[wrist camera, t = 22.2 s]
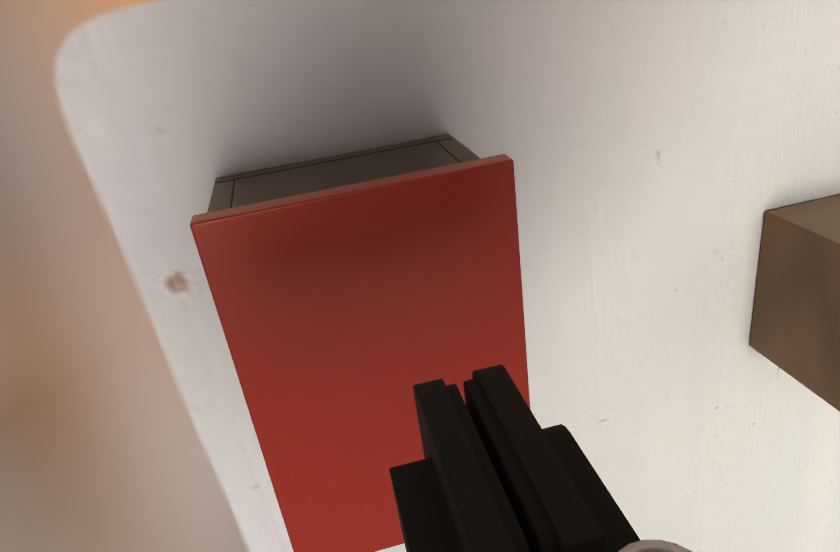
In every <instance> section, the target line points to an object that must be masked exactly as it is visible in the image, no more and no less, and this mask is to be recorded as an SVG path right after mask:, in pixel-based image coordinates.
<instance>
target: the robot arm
mask: <svg viewBox="0 0 840 552" xmlns="http://www.w3.org/2000/svg"><path fill="white" fill-rule="evenodd" d="M463 387H464V395H465V402H464V400H463V398H462V396H461V394H460V391H459V389H458V387H457V385H456V384H455V383H454V384H450V385H445V382H444V380H443V379H442V378H441V379H436V380H432V381H428V382H424V383H419V384H415V385H413V391H414V398H415V404H416V410H417V416H418V422H419V428H420V434H421V440H422V446H423V452H424V458H425V459H422V460H418V461H414V462H411V463H407V464H403V465H399V466H395V467H391V468H389V471H390V476H391V481H392V486H393V491H394V496H395V501H396V506H397V511H398V515H399V520H400V524H401V529H402V533H403V538H404V542H405V546H406V551H407V552H692V551H690V550H688V549H686V548H684V547H682V546H680V545H678V544H675V543H671V542H667V541H663V540H640V539H639V537H638V536H637V534H636V533H635V531H634V530H633V528H632V527H631V525H630V524H629V522H628V521H627V519H626V517H625V516H624V514H623V513H622V511H621V510H620V508H619V507H618V505H617V504H616V502H615V501H614V499H613V498H612V496H611V494H610V493H609V491H608V490H607V488H606V487H605V485H604V484H603V482H602V481H601V479H600V478H599V476H598V475H597V473H596V472H595V470H594V468H593V467H592V465H591V464H590V462H589V461H588V459H587V458H586V456H585V455H584V453H583V452H582V450H581V449H580V447H579V445H578V444H577V442H576V441H575V439H574V438H573V436H572V435H571V433H570V432H569V431H568V429H567V428H566V427H565V426H563V425H562V424H560V425H556V426H552V427H548V428H545V429H541V427H540V425H539V424H538V422H537V420H536V419H535V417H534V415H533V414H532V412H531V410H530V409H529V407H528V405H527V403H526V402H525V400H524V398H523V397H522V395H521V393H520V392H519V390H518V388H517V387H516V385H515V383H514V382H513V380H512V378H511V377H510V375H509V373H508V372H507V370H506V368H505V367H504V366H503V365H502V364H499V365H495V366H491V367H487V368H483V369H478V370H474V371H473V372H472V379H471V380H467V381H464V382H463ZM465 404H466V405H465Z"/></svg>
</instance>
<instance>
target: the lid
mask: <svg viewBox="0 0 840 552" xmlns="http://www.w3.org/2000/svg"><path fill="white" fill-rule="evenodd" d="M190 227H191V230H192V233H193V237H194V240H195V243H196V246H197V249H198V252H199V255H200V259H201V262H202V265H203V268H204V271H205V274H206V277H207V281H208V284H209V287H210V290H211V293H212V296H213V299H214V303H215V306H216V309H217V312H218V315H219V318H220V321H221V325H222V328H223V331H224V334H225V337H226V340H227V343H228V347H229V350H230V353H231V356H232V359H233V362H234V365H235V369H236V372H237V375H238V378H239V381H240V384H241V387H242V391H243V394H244V397H245V400H246V403H247V406H248V409H249V413H250V416H251V419H252V422H253V425H254V428H255V431H256V435H257V438H258V441H259V444H260V447H261V450H262V453H263V457H264V460H265V463H266V466H267V469H268V472H269V475H270V479H271V482H272V485H273V488H274V491H275V494H276V497H277V501H278V504H279V507H280V510H281V513H282V516H283V519H284V523H285V526H286V529H287V532H288V535H289V538H290V541H291V545H292V548H293V551H294V552H375V551H379V550H382V549H386V548H389V547H393V546H396V545H400V544H403V543H405V542H404V538H403V533H402V529H401V524H400V520H399V515H398V511H397V506H396V501H395V496H394V491H393V486H392V481H391V476H390V471H389V468H391V467H395V466H399V465H403V464H407V463H411V462H414V461H418V460H422V459H425V458H424V452H423V446H422V440H421V434H420V428H419V422H418V416H417V410H416V404H415V398H414V391H413V385H415V384H419V383H424V382H428V381H432V380H436V379H441V378H442V379H443V380H444V382H445V385H450V384H454V383H455V384H456V385H457V387H458V389H459V391H460V394H461V396H462V398H463V400H464V402H465V395H464V387H463V382H464V381H467V380H471V379H472V372H473V371H474V370H478V369H483V368H487V367H491V366H495V365H499V364H502V365H503V366H504V367H505V368H506V370H507V372H508V373H509V375H510V377H511V378H512V380H513V382H514V383H515V385H516V387H517V388H518V390H519V392H520V393H521V395H522V397H523V398H524V400H525V402H526V403H527V405H528V407H529V409H530V401H529V386H528V371H527V356H526V341H525V326H524V311H523V297H522V282H521V267H520V252H519V237H518V222H517V207H516V192H515V178H514V163H513V160H512V159H511V158H509V157H508V156H506V155H505V154H502V155H497V156H492V157H487V158H482V159H477V160H472V161H467V162H462V163H457V164H452V165H447V166H442V167H437V168H432V169H426V170H421V171H416V172H411V173H406V174H401V175H396V176H391V177H386V178H381V179H376V180H371V181H366V182H361V183H356V184H351V185H346V186H340V187H335V188H330V189H325V190H320V191H315V192H310V193H305V194H300V195H295V196H290V197H285V198H280V199H275V200H270V201H265V202H260V203H255V204H249V205H244V206H239V207H234V208H229V209H224V210H219V211H214V212H209V213H204V214H199V215H194V216H193V217H192V220H191V224H190ZM465 405H466V404H465Z"/></svg>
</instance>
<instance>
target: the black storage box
mask: <svg viewBox="0 0 840 552" xmlns="http://www.w3.org/2000/svg"><path fill="white" fill-rule="evenodd" d="M477 159H480V158H479V157H478V156H477V155H475V154H474V153H473V152H471V151H470V150H469V149H468V148H466V147H465V146H464V145H462V144H461V143H460V142H459V141H457V140H456V139H455V138H453V137H452V136H451V135H449V134H446V135H440V136H435V137H430V138H425V139H419V140H414V141H409V142H404V143H398V144H393V145H388V146H383V147H377V148H372V149H367V150H362V151H356V152H351V153H346V154H341V155H335V156H330V157H325V158H319V159H314V160H309V161H304V162H298V163H293V164H288V165H283V166H277V167H272V168H267V169H262V170H256V171H251V172H246V173H241V174H235V175H230V176H225V177H220V178H216V180H215V184H214V188H213V192H212V196H211V200H210V204H209V208H208V212H207V213H209V212H214V211H219V210H224V209H229V208H234V207H239V206H244V205H249V204H255V203H260V202H265V201H270V200H275V199H280V198H285V197H290V196H295V195H300V194H305V193H310V192H315V191H320V190H325V189H330V188H335V187H340V186H346V185H351V184H356V183H361V182H366V181H371V180H376V179H381V178H386V177H391V176H396V175H401V174H406V173H411V172H416V171H421V170H426V169H432V168H437V167H442V166H447V165H452V164H457V163H462V162H467V161H472V160H477Z"/></svg>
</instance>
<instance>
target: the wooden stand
mask: <svg viewBox="0 0 840 552" xmlns="http://www.w3.org/2000/svg"><path fill="white" fill-rule="evenodd" d="M750 346H751V347H752V348H754V349H755V350H756V351H758V352H759V353H760V354H762V355H763V356H765V357H766V358H767V359H769V360H770V361H771V362H773V363H774V364H775V365H777V366H778V367H780V368H781V369H782V370H784V371H785V372H786V373H788V374H789V375H791V376H792V377H793V378H795V379H796V380H797V381H799V382H800V383H801V384H803V385H804V386H806V387H807V388H808V389H810V390H811V391H812V392H814V393H815V394H816V395H818V396H819V397H821V398H822V399H823V400H825V401H826V402H827V403H829V404H830V405H832V406H833V407H834V408H836V409H837V410H838V411H840V195H836V196H832V197H827V198H823V199H818V200H814V201H809V202H805V203H801V204H796V205H792V206H787V207H783V208H778V209H774V210H770V211H766V212H765V217H764V225H763V234H762V242H761V251H760V259H759V268H758V276H757V285H756V293H755V302H754V310H753V319H752V327H751V336H750Z"/></svg>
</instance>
